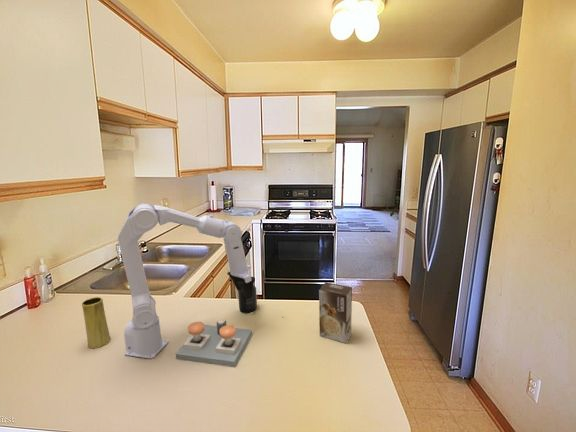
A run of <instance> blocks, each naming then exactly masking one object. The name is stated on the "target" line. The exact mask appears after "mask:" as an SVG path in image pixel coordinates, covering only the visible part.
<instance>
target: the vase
mask: <svg viewBox="0 0 576 432" xmlns="http://www.w3.org/2000/svg"><path fill="white" fill-rule="evenodd" d="M81 306H82V311H83V318H84V325H85V332H86V338H87V339H86V340H87V348H90V349H98V348H102V347H104V346H105V345H107V344H108V343H109V342H110V341H111V336H110V332H109V327H108V323H107V316H106V311H105V307H104V301H103V297H99V296H95V297H90V298H87V299H85V300H84V301H82V303H81Z"/></svg>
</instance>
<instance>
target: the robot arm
mask: <svg viewBox="0 0 576 432" xmlns="http://www.w3.org/2000/svg"><path fill="white" fill-rule="evenodd" d="M168 223H173V224H178V225H183V226H187V227H192V228H196V230H197V231H198V233H199V234H203V235H206V236H211V237H213V238H217V239H223V242H224V249H225V254H226V259H227V261H228V266H229V271H228V272H227V275H228V277H229V278H230V280H231V281H232V282H233V284H234V286H235V289H236V291H237V292H238V291H239V290H241V289H242V291H243V293H244V296H245V298H246V299H249V298H251V297H252V293H253V285H255V282H256V278H255V277H254V276H252V275H251V274H250V271H249V270H250V269H251V268H252V266H251V265H250V264H248V263H247V260H246V255H245V249H244V246H243V245H244V244H243V241H242V236H243V230H242V229H241V227H240V226H239V225H237V224H236V223H234V222H233V221H231V220H228V219H225V218H224V219H219V218H216V217H214V214H211V213H210V214H208V215H206V214H205V215H202V216H199V217H198V216H195V215H192V214H189V213H186V212H181V211H180V210H176V209H173V208H171V207H166V206H162V205H158V204H154V205H152V204H150V203H147V202H142V203H139V204H136V205H135V207H133V208H132V209H131V210H130V211H129V212H128V214H127V216H126V219H125V221H124V223H123V225H122V226H121V229H120V231H119V232H118V235H117V241H118V246H119V250H120V253H121V258H122V261H123V266H124V271H125V276H126V279H127V284H128V287H129V292H130V295H131V303H132V318H131V320H130V321H129V322H127V324H126V325H125V327H124V331H123V336H124V337H123V338H124V343H125V350H126V351H125V352H124V356H127V357H129V356H131V357H136V358H144V359H154V358H155V357H156V356H157V355H158V354H159V353H160V351H162V350H163V348H164V347H165V346H166V345H168V343H169V340H168V339H167V340H166V339H162V333H161V331H162V330H161V324H160V317H159V316H158V314H157V309H156V300H155V299H154V297H153V296H152V295H151V293H150V288H149V286H148V281H147V276H146V271H145V267H144V263H143V258H142V254H141V249H140V245H139V240H140V239H141V238H142V237H143V235H144V234H145V233H148V232H149V231H151V230H152V229H154V228H155V227H156V226H157V224H159V226H163V225H166V224H168Z"/></svg>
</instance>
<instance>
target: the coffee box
mask: <svg viewBox="0 0 576 432" xmlns="http://www.w3.org/2000/svg"><path fill="white" fill-rule="evenodd" d="M318 295H319V296H318V299H319V300H318V304H319V305H318V309H319V310H318V311H319V313H318V314H319V318H318V320H319V337H322V338H324V339H325V338H326V339H329V340H333V341H336V342H340V343H342V344H343V343H344V344H348V341H349V340H350V338H351V335H352V310H353V309H352V307H353V305H352V303H353V301H352V300H353V299H352V298H353V287H351V286H347V285H342V284H337V283H336V284H335V283H332V282H324V283H323V285H322V286H321V287H320V289H318Z"/></svg>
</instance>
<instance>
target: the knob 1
mask: <svg viewBox="0 0 576 432" xmlns="http://www.w3.org/2000/svg"><path fill="white" fill-rule="evenodd" d="M204 325H205V323H204V322H202V321H195V322H191V323H190V324H189V325H188V326H187V332H188V334H189V335H190V336H191V335H193V340H194V341H195V342H197V341H200V340H201V333H202V332H203V331H204Z"/></svg>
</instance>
